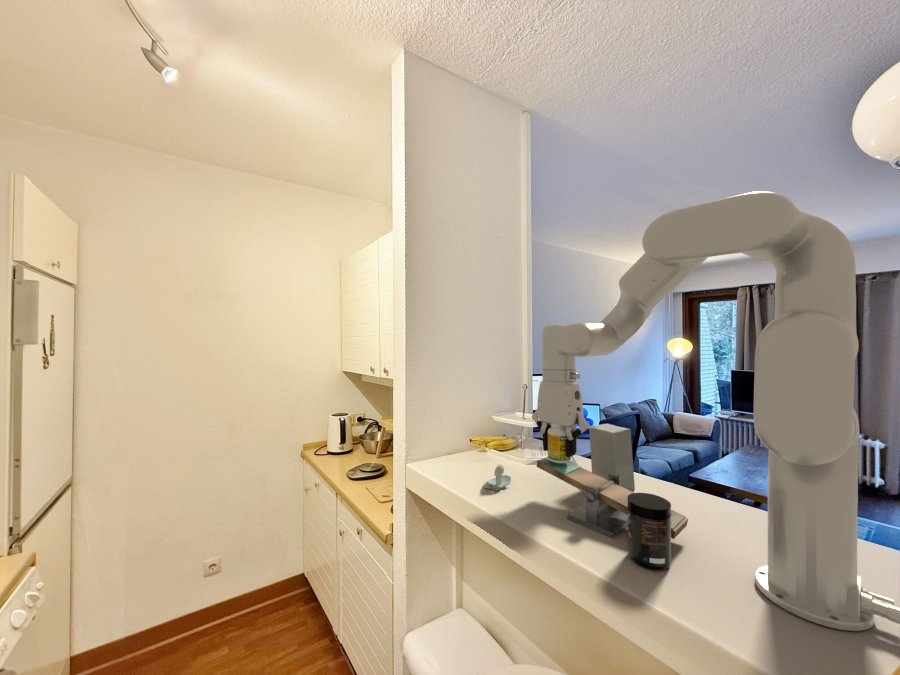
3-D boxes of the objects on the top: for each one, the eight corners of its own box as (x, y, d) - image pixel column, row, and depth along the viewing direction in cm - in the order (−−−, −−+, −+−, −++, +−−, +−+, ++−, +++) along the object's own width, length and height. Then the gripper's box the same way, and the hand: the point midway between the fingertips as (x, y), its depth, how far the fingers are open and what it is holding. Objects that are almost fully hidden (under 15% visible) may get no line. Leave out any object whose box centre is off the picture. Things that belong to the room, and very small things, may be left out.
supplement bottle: (557, 454, 92) (557, 416, 92) (576, 461, 87) (576, 420, 87) (542, 459, 89) (542, 419, 89) (560, 465, 84) (560, 423, 84)
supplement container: (656, 548, 68) (656, 492, 68) (680, 572, 61) (680, 509, 61) (620, 549, 68) (620, 492, 68) (640, 573, 61) (640, 510, 61)
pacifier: (478, 488, 96) (495, 494, 92) (477, 463, 96) (494, 469, 92) (496, 480, 101) (514, 486, 97) (496, 457, 101) (513, 462, 97)
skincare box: (635, 492, 92) (635, 429, 92) (613, 497, 90) (613, 432, 89) (609, 480, 100) (609, 421, 100) (588, 484, 97) (588, 424, 97)
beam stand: (640, 516, 80) (640, 479, 80) (612, 538, 72) (612, 496, 72) (596, 500, 88) (596, 467, 88) (566, 518, 79) (566, 481, 79)
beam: (687, 525, 72) (689, 516, 71) (671, 542, 66) (673, 531, 66) (554, 460, 94) (556, 452, 94) (534, 468, 88) (535, 460, 88)
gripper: (601, 378, 84) (601, 458, 84) (538, 372, 97) (538, 441, 97) (584, 381, 79) (584, 465, 79) (519, 374, 92) (520, 447, 92)
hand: (559, 451), depth 88 cm, fingers closed on supplement bottle, 5 cm apart
